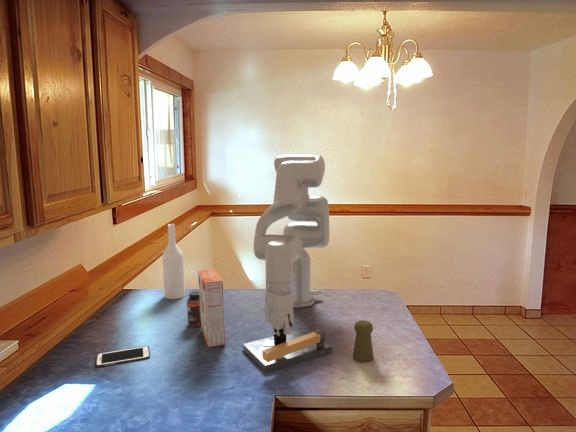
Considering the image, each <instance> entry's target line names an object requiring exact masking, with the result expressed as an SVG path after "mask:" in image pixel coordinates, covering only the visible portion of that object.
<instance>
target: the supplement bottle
mask: <svg viewBox="0 0 576 432" xmlns="http://www.w3.org/2000/svg"><path fill="white" fill-rule="evenodd" d="M186 306H187V307H186V311H187V324H188V326H189V327H193V328H198V327H201V313H200V296H199V290H198V291H197V290H195V291H190V292H189V293H188V299H187V300H186Z"/></svg>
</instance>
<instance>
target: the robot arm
mask: <svg viewBox="0 0 576 432" xmlns="http://www.w3.org/2000/svg"><path fill="white" fill-rule="evenodd" d="M273 165H274V166H273V167H274V171H275V173H276V175H275V184H274V193H273V194H274V195H273V202H272V204H271V205H270V206H269V207H267V208H266V209H265V210H264V211H263V213H262V214H261V215H260V216H259V218H258V220H257V223H256V225H255V230H254V239H253V254H254V256H255V258H257V259H258V260H262V261H265V262H264V263H265V300H264V318H265V320H266V321H267V322H268V324H270V325H271V326H272V331H273V336H274V346H276V345H279V344H282V343H285V342H286V335H287V334H290V332H291V329H290V328H292V327H293V326H294V308H306V307H307V308H308V307H310V306H312V305H314V304H315V296H319V295H322V290H321V289H314V288H312V287H311V285H312V284H311V283H312V282H311V277H312V276H311V270H312V269H311V267H312V266H311V257H310V254H309V253H308V251H307V250H306V249H307V248H308V249H309V248H310V249H313V248H314V249H315V248H316V249H322V248H326V247H327V246H328V245H329V242H330V205H329V202H328V199H327V198H326V197H325V196H322V195H321V196H320V195H309V188H319V187H321V185H322V182H323V179H324V176H325V171H326V170H325V169H326V162H325V160H324V158H323V156H322V155H321V154H282V155H278V156H276V157H275V158H274V163H273ZM286 217H287V219H288V220H290V221H293V222H290V223H288V224H286V225H285V226H284V228H283V233H282V234H266V233H267V231H268V228H270V226H271V225H272V224H274V223H276V222H277V221H279V220H281V219H284V218H286Z"/></svg>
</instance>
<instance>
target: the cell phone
mask: <svg viewBox="0 0 576 432" xmlns="http://www.w3.org/2000/svg"><path fill="white" fill-rule="evenodd" d="M149 359H151V353H150V346H149V345H142V346H136V347H131V348H124V349H123V348H122V349H117V350H111V351H105V352H99V353H97V354H96V358H95V363H94V364H95V368H104V367H106V366H114V365H121V364H126V363H133V362H138V361H144V360H149Z"/></svg>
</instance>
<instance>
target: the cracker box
mask: <svg viewBox="0 0 576 432" xmlns="http://www.w3.org/2000/svg"><path fill="white" fill-rule="evenodd" d="M197 275H198V291H199V296H200V313H201V326H200V329H201V332H202V335H203V338H204V341H205V343H206V347H207V348H215V347H219V346H220V347H221V346H225V345H226V331H225V327H226V326H225V310H224V308H225V306H224V283H223V280H222V278H221V277H220V275H219V273H218V272H217V270H216V269H215V268H211V269H200V270H198V271H197Z"/></svg>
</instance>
